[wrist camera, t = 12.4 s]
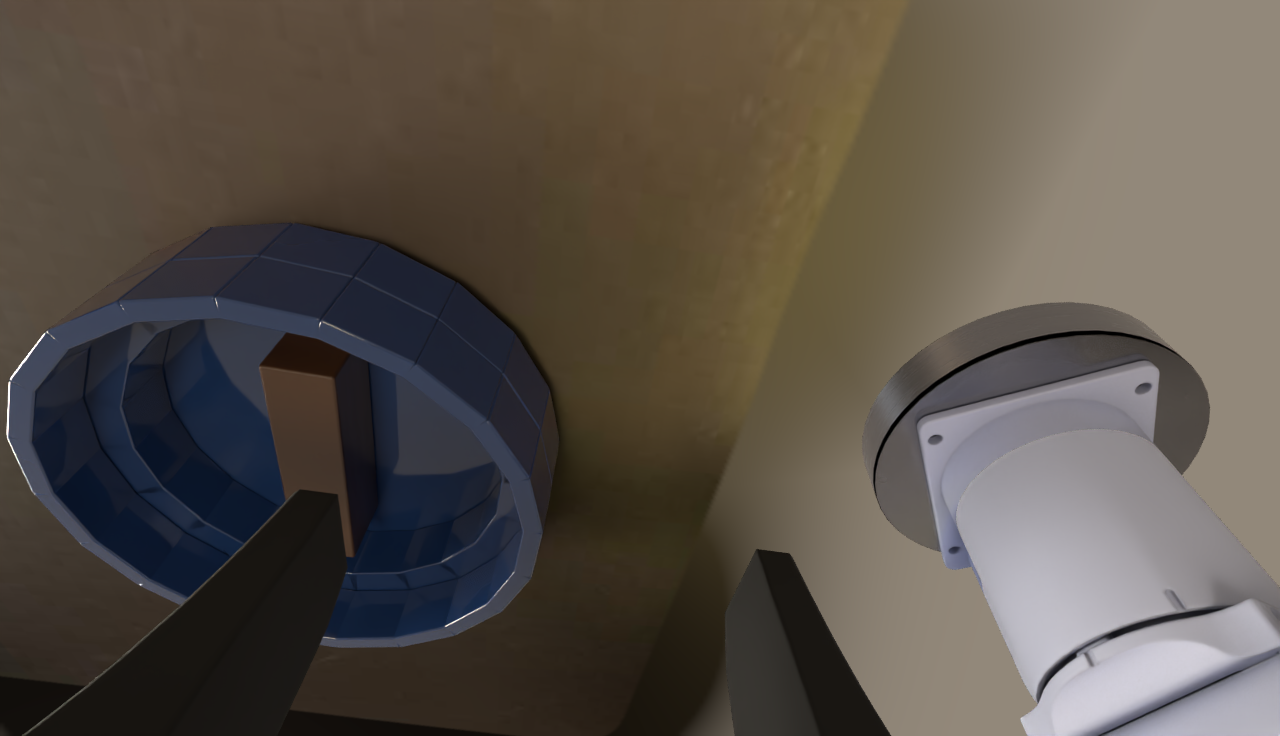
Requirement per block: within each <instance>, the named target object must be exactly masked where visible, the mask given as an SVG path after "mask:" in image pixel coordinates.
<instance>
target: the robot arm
mask: <svg viewBox="0 0 1280 736" xmlns="http://www.w3.org/2000/svg"><path fill="white" fill-rule="evenodd" d="M1159 374H1160V373H1159V369H1158V368H1157V367H1156V366H1155V365H1154V364H1153V363H1151V362H1150V361H1138V362H1134V363H1130V364H1126V365H1122V366H1119V367H1115V368H1111V369H1107V370H1103V371H1099V372H1095V373H1091V374H1087V375H1083V376H1079V377H1076V378H1072V379H1068V380H1064V381H1060V382H1056V383H1052V384H1048V385H1044V386H1040V387H1036V388H1032V389H1029V390H1025V391H1021V392H1017V393H1013V394H1009V395H1005V396H1001V397H997V398H993V399H989V400H986V401H982V402H978V403H974V404H970V405H966V406H962V407H958V408H954V409H950V410H946V411H943V412H939V413H935V414H931V415H928V416H925V417H923V418H922V419H921V420H919V422H918V424H917V431H918V436H919V441H920V447H921V452H922V457H923V462H924V467H925V472H926V477H927V482H928V487H929V492H930V497H931V502H932V508H933V513H934V518H935V523H936V528H937V533H938V538H939V543H940V548H941V553H942V558H943V561H944V564H945V566H946V567H947V568H949V569H952V570H957V569H963V568H968V567H972V569H973V571H974V573H975V575H976V578H977V580H978V582H979V585H980V587H981V589H982V591H983V593H984V596H985V598H986V600H987V602H988V605H989V607H990V609H991V611H992V613H993V616H994V618H995V620H996V622H997V625H998V627H999V629H1000V631H1001V633H1002V636H1003V638H1004V640H1005V642H1006V644H1007V647H1008V649H1009V651H1010V653H1011V656H1012V658H1013V660H1014V662H1015V665H1016V667H1017V669H1018V671H1019V673H1020V676H1021V678H1022V680H1023V682H1024V684H1025V686H1026V688H1027V689H1028V691H1029V693H1030V694H1031V696H1032V697H1033V699H1034V700H1035V701H1036V702H1037V704H1038V705H1037V706H1036V707H1035V708H1034V709H1033V710H1032V711H1030V712H1029V713H1027V714H1026V715H1024V716H1023V717H1021V719H1020V720H1021V722H1022V725H1023V727H1024V729H1025V732H1026V734H1027V736H1280V587H1279V586H1278V585H1277V584H1276V583H1275V581H1274V580H1273V579H1272V578H1271V577H1270V576H1269V575H1268V573H1267V572H1266V571H1265V570H1264V569H1263V568H1262V567H1261V565H1260V564H1259V563H1258V562H1257V561H1256V560H1255V559H1254V557H1253V556H1252V555H1251V554H1250V553H1249V552H1248V551H1247V549H1246V548H1245V547H1244V546H1243V545H1242V544H1241V543H1240V541H1239V540H1238V539H1237V538H1236V537H1235V536H1234V535H1233V533H1232V532H1231V531H1230V530H1229V529H1228V528H1227V527H1226V525H1225V524H1224V523H1223V522H1222V521H1221V520H1220V518H1219V517H1218V516H1217V515H1216V514H1215V513H1214V512H1213V510H1212V509H1211V508H1210V507H1209V506H1208V505H1207V504H1206V502H1205V501H1204V500H1203V499H1202V498H1201V497H1200V496H1199V495H1198V493H1197V492H1196V491H1195V490H1194V489H1193V488H1192V486H1191V485H1190V484H1189V483H1188V482H1187V481H1186V480H1185V479H1184V477H1183V476H1182V475H1181V474H1180V473H1179V472H1178V470H1177V469H1176V468H1175V467H1174V466H1173V465H1172V464H1171V462H1170V461H1169V460H1168V459H1167V458H1166V457H1165V456H1164V454H1163V453H1162V452H1161V451H1160V450H1159V449H1158V448H1157V446H1156V445H1155V444H1154V443H1153V438H1154V427H1155V417H1156V406H1157V395H1158V384H1159ZM1140 384H1142V385H1141V386H1139V385H1140ZM933 435H937V436H935V437H933V438H930V437H931V436H933ZM347 568H348V567H347V560H346V552H345V544H344V537H343V529H342V521H341V514H340V506H339V499H338V494H333V493H325V492H318V491H310V490H302V489H299V490H298V491H296V492H294V493H293V494H292V495H291V496H290V497H289V498H288V499H287V500H286V501H285V502H284V504H283V505H282V506H281V507H280V508H279V509H278V510H277V511H276V512H275V513H274V514H273V515H272V516H271V517H270V518H269V519H268V520H267V521H266V522H265V523H264V524H263V525H262V526H261V527H260V528H259V530H258V531H257V532H256V533H255V534H254V535H253V536H252V537H251V538H250V539H249V540H248V541H247V542H246V543H245V544H244V545H243V546H242V547H241V548H240V549H239V550H238V551H237V552H236V553H235V554H234V555H233V556H232V557H231V558H230V559H229V560H228V561H226V562H225V563H224V564H223V565H222V566H221V567H220V568H219V569H218V570H217V571H216V572H215V573H214V574H213V575H212V576H211V577H210V578H209V579H208V580H206V581H205V582H204V583H203V584H202V585H201V586H200V587H199V588H198V589H197V590H196V591H195V592H194V593H193V594H192V595H191V596H190V597H188V598H187V599H186V600H185V601H184V602H183V603H182V604H181V605H180V606H179V607H178V608H177V609H175V610H174V611H173V612H172V613H171V614H170V615H169V616H168V617H166V618H165V619H164V620H163V621H162V622H161V623H160V624H158V625H157V626H156V627H155V628H154V629H153V630H152V631H150V632H149V633H148V634H147V635H146V636H145V637H144V638H142V639H141V640H140V641H139V642H138V643H137V644H136V645H134V646H133V647H132V648H131V649H130V650H129V651H128V652H126V653H125V654H124V655H123V656H122V657H121V658H119V659H118V660H117V661H116V662H115V663H113V664H112V665H111V666H110V667H109V668H107V669H106V670H105V671H104V672H103V673H101V674H100V675H99V676H98V677H96V678H95V679H94V680H93V681H92V682H90V683H89V684H88V685H87V686H85V687H84V688H83V689H82V690H80V691H79V692H78V693H77V694H76V695H74V696H73V697H72V698H70V699H69V700H68V701H66V702H65V703H64V704H63V705H61V706H60V707H59V708H57V709H56V710H55V711H54V712H52V713H51V714H50V715H48V716H47V717H46V718H45V719H43V720H42V721H41V722H39V723H38V724H37V725H35V726H34V727H33V728H31V729H30V730H29V731H27V732H26V733H25V734H23V735H22V736H277V734H278V732H279V730H280V728H281V726H282V724H283V722H284V719H285V717H286V715H287V713H288V711H289V709H290V707H291V705H292V703H293V700H294V698H295V696H296V694H297V692H298V690H299V688H300V686H301V683H302V681H303V679H304V677H305V675H306V673H307V671H308V668H309V666H310V664H311V662H312V660H313V658H314V656H315V653H316V651H317V649H318V647H319V645H320V643H321V640H322V638H323V636H324V634H325V632H326V629H327V627H328V624H329V621H330V618H331V616H332V613H333V610H334V607H335V604H336V601H337V598H338V595H339V592H340V589H341V586H342V583H343V580H344V577H345V574H346V571H347ZM725 640H726V641H725V645H726V673H727V681H728V689H729V696H730V703H731V712H732V720H733V727H734V734H735V736H891V735H890V733H889V732H888V730H887V729H886V727H885V725H884V724H883V722H882V720H881V719H880V717H879V716H878V714H877V712H876V711H875V709H874V708H873V706H872V704H871V702H870V701H869V699H868V697H867V696H866V694H865V692H864V691H863V689H862V688H861V686H860V684H859V682H858V680H857V679H856V677H855V675H854V674H853V672H852V670H851V668H850V667H849V665H848V663H847V661H846V659H845V657H844V656H843V654H842V652H841V650H840V649H839V647H838V645H837V643H836V641H835V639H834V638H833V636H832V634H831V632H830V630H829V628H828V626H827V625H826V623H825V621H824V619H823V617H822V615H821V613H820V611H819V609H818V607H817V605H816V603H815V601H814V600H813V598H812V596H811V594H810V592H809V590H808V588H807V586H806V584H805V582H804V580H803V578H802V576H801V574H800V572H799V570H798V568H797V566H796V564H795V562H794V560H793V558H792V556H791V555H790V554H789V553H782V552H774V551H767V550H759V549H757V550H756V551H755V553H754V555H753V557H752V560H751V561H750V563H749V566H748V567H747V569H746V571H745V573H744V575H743V578H742V580H741V582H740V584H739V586H738V588H737V590H736V592H735V594H734V596H733V598H732V600H731V602H730V604H729V606H728V608H727V610H726V612H725Z"/></svg>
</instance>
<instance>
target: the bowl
mask: <svg viewBox="0 0 1280 736" xmlns="http://www.w3.org/2000/svg"><path fill="white" fill-rule="evenodd" d="M286 332H287V333H292V334H296V335H301V336H306V337H311V338H316V339H319V340H321V341H324V342H326V343H328V344H330V345H332V346H335V347H337V348H339V349H341V350H343V351H346V352H348V353H350V354H352V355H354V356H357V357H359V358H361V359H363V360H365V361H368V372H369V386H370V400H371V414H372V428H373V441H374V455H375V469H376V483H377V497H378V506H377V509H376V511H375V513H374V515H373V517H372V520H371V522H370V524H369V526H368V529H367V531H366V533H365V535H364V537H363V540H362V542H361V544H360V546H359V548H358V551H357V553H356V555H355V556H354V557H346V560H347V567H348V568H347V571H346V574H345V577H344V580H343V583H342V586H341V589H340V592H339V595H338V598H337V601H336V604H335V607H334V610H333V613H332V616H331V618H330V621H329V624H328V627H327V629H326V632H325V634H324V636H323V638H322V640H321V643H320V645H325V646H331V647H340V648H350V647H400V646H401V647H404V646H409V645H413V644H418V643H423V642H427V641H432V640H437V639H442V638H446V637H451V636H455V635H457V634H459V633H461V632H463V631H465V630H467V629H469V628H471V627H473V626H475V625H477V624H479V623H481V622H483V621H485V620H487V619H489V618H491V617H493V616H495V615H497V614H498V613H500V612H502V611H503V610H504V609H505V607H506V606H507V605H508V604H509V603H510V602H511V601H512V600H513V598H514V597H515V596H516V595H517V594H518V593H519V592H520V591H521V590H522V588H523V587H524V586H525V585H526V584H527V583H528V582H529V581H530V579H531V578H532V576H533V572H534V568H535V564H536V560H537V556H538V552H539V548H540V544H541V540H542V536H543V531H544V526H545V520H546V515H547V509H548V504H549V498H550V493H551V486H552V482H553V476H554V471H555V465H556V460H557V454H558V449H559V441H560V439H559V434H558V429H557V424H556V419H555V414H554V408H553V403H552V398H551V393H550V390H549V387H548V386H547V384H546V382H545V381H544V379H543V377H542V376H541V374H540V373H539V371H538V369H537V368H536V366H535V364H534V363H533V361H532V360H531V358H530V356H529V355H528V353H527V351H526V350H525V348H524V347H523V345H522V343H521V342H520V340H519V338H518V337H517V335H516V334H515V333H514V332H513V331H512V330H511V329H510V328H509V327H508V326H507V325H506V324H504V323H503V322H502V321H501V320H500V319H499V318H498V317H497V316H495V315H494V314H493V313H492V312H491V311H490V310H489V309H488V308H486V307H485V306H484V305H483V304H482V303H481V302H480V301H479V300H477V299H476V298H475V297H474V296H473V295H472V294H471V293H470V292H468V291H467V290H466V289H465V288H464V287H463V286H462V285H461V284H459V283H456V282H455V281H454V280H452V279H450V278H448V277H446V276H444V275H442V274H440V273H438V272H436V271H435V270H433V269H431V268H429V267H427V266H425V265H423V264H421V263H419V262H417V261H415V260H413V259H411V258H409V257H407V256H405V255H403V254H401V253H400V252H398V251H396V250H394V249H392V248H390V247H388V246H386V245H384V244H379V242H377V241H372V240H368V239H364V238H359V237H355V236H351V235H346V234H342V233H338V232H333V231H329V230H324V229H320V228H316V227H311V226H307V225H303V224H298V223H294V224H293V223H278V224H260V225H241V226H222V227H210V228H208V229H206V230H203V231H201V232H199V233H197V234H194V235H192V236H190V237H188V238H185V239H183V240H181V241H178V242H176V243H174V244H172V245H169V246H167V247H165V248H162V249H160V250H158V251H156V252H153V253H151V254H150V255H148V256H147V257H146V258H144V259H143V260H142V261H140V262H139V263H137V264H136V265H135V266H133V267H132V268H131V269H129V270H128V271H126V272H125V273H124V274H122V275H121V276H120V277H118V278H117V279H116V280H114V281H113V282H111V283H110V284H109V285H107V286H106V287H105V288H104V289H102V290H101V291H99V292H98V293H96V294H95V295H94V296H92V297H91V298H90V299H88V300H87V301H86V302H84V303H83V304H81V305H80V306H79V307H77V308H76V309H75V310H73V311H72V312H70V313H69V314H68V315H66V316H65V317H64V318H62V319H61V320H60V321H58V322H57V323H55V324H54V325H53V326H51V327H50V328H49V329H47V330H46V331H45V332H44V333H43V335H42V336H41V337H40V338H39V340H38V341H37V342H36V344H35V345H34V346H33V348H32V349H31V350H30V352H29V353H28V354H27V356H26V357H25V358H24V359H23V361H22V362H21V363H20V365H19V366H18V367H17V369H16V370H15V371H14V373H13V374H12V375H11V377H10V380H9V384H8V412H7V439H8V441H9V444H10V446H11V448H12V450H13V452H14V454H15V456H16V459H17V461H18V463H19V465H20V467H21V469H22V471H23V473H24V476H25V478H26V480H27V482H28V484H29V486H30V488H31V491H32V492H33V493H34V494H35V496H36V497H37V498H38V499H39V500H40V501H41V502H42V503H43V504H44V505H45V506H46V507H47V509H48V510H49V511H50V512H51V513H52V514H53V515H54V516H55V517H56V518H57V519H58V521H59V522H60V523H61V524H62V525H63V526H64V527H65V528H66V529H67V530H68V531H69V532H70V534H71V535H72V536H73V537H74V538H75V539H76V540H77V541H78V542H79V543H81V545H82V546H84V547H85V548H86V549H88V550H89V551H91V552H92V553H94V554H95V555H96V556H98V557H99V558H101V559H102V560H104V561H105V562H106V563H108V564H109V565H111V566H112V567H113V568H115V569H116V570H118V571H119V572H121V573H122V574H123V575H125V576H126V577H128V578H129V579H130V580H132V581H133V582H135V583H136V584H138V585H140V586H142V587H144V588H146V589H148V590H150V591H152V592H154V593H156V594H158V595H160V596H162V597H164V598H167V599H169V600H171V601H173V602H175V603H177V604H179V605H181V604H182V603H183V602H184V601H185V600H186V599H187V598H188V597H190V596H191V595H192V594H193V593H194V592H195V591H196V590H197V589H198V588H199V587H200V586H201V585H202V584H203V583H204V582H205V581H206V580H208V579H209V578H210V577H211V576H212V575H213V574H214V573H215V572H216V571H217V570H218V569H219V568H220V567H221V566H222V565H223V564H224V563H225V562H226V561H228V560H229V559H230V558H231V557H232V556H233V555H234V554H235V553H236V552H237V551H238V550H239V549H240V548H241V547H242V546H243V545H244V544H245V543H246V542H247V541H248V540H249V539H250V538H251V537H252V536H253V535H254V534H255V533H256V532H257V531H258V530H259V528H260V527H261V526H262V525H263V524H264V523H265V522H266V521H267V520H268V519H269V518H270V517H271V516H272V515H273V514H274V513H275V512H276V511H277V510H278V509H279V508H280V507H281V506H282V505H283V504H284V502H285V496H284V491H283V486H282V481H281V476H280V471H279V466H278V461H277V456H276V451H275V446H274V441H273V436H272V431H271V426H270V421H269V416H268V411H267V406H266V401H265V396H264V391H263V386H262V381H261V376H260V371H259V365H260V363H261V362H262V361H263V360H264V359H265V357H266V356H267V355H268V354H269V353H270V351H271V350H272V349H273V348H274V347H275V345H276V344H277V343H278V342H279V340H280V339H281V338H282V337H283V336H284V334H285V333H286Z"/></svg>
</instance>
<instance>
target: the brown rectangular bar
mask: <svg viewBox="0 0 1280 736" xmlns="http://www.w3.org/2000/svg"><path fill="white" fill-rule="evenodd" d="M259 371H260V376H261V381H262V386H263V391H264V396H265V401H266V406H267V411H268V416H269V421H270V426H271V431H272V436H273V441H274V446H275V451H276V456H277V461H278V466H279V471H280V476H281V481H282V486H283V491H284V496H285V501H286V500H287V499H288V498H289V497H290V496H291V495H292V494H293V493H294V492H296V491H298V490H299V489H302V490H310V491H318V492H325V493H333V494H338V499H339V506H340V514H341V521H342V529H343V537H344V544H345V552H346V557H354V556H355V555H356V553H357V551H358V548H359V546H360V544H361V542H362V540H363V537H364V535H365V533H366V531H367V529H368V526H369V524H370V522H371V520H372V517H373V515H374V513H375V511H376V509H377V506H378V497H377V483H376V469H375V455H374V441H373V428H372V414H371V400H370V386H369V372H368V361H365V360H363V359H361V358H359V357H357V356H354V355H352V354H350V353H348V352H346V351H343V350H341V349H339V348H337V347H335V346H332V345H330V344H328V343H326V342H324V341H321V340H319V339H316V338H311V337H306V336H301V335H296V334H292V333H287V332H286V333H285V334H284V336H283V337H282V338H281V339H280V340H279V342H278V343H277V344H276V345H275V347H274V348H273V349H272V350H271V351H270V353H269V354H268V355H267V356H266V357H265V359H264V360H263V361H262V362H261V363H260V365H259Z"/></svg>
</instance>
